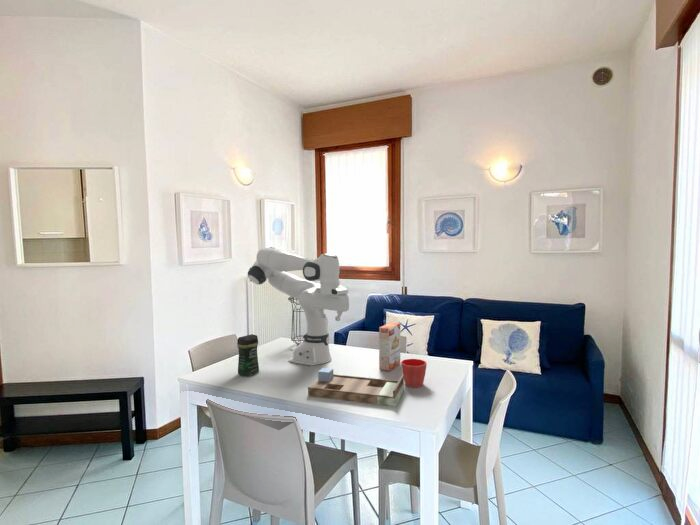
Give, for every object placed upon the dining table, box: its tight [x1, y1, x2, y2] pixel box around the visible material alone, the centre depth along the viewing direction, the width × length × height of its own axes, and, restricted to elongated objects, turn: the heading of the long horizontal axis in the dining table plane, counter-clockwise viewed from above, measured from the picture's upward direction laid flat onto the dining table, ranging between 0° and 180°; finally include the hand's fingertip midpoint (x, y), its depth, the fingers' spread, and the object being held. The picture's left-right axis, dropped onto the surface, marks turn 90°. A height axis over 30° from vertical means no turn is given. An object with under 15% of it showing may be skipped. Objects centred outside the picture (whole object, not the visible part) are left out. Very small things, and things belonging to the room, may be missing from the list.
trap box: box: [307, 373, 405, 407], centre depth 158 cm, size 36×17×6 cm, turn 71°
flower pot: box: [400, 358, 428, 388], centre depth 166 cm, size 11×11×10 cm
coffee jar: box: [236, 334, 260, 377], centre depth 184 cm, size 10×8×19 cm
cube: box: [317, 367, 334, 382], centre depth 166 cm, size 5×5×4 cm
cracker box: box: [378, 321, 401, 372], centre depth 190 cm, size 14×6×21 cm, turn 150°
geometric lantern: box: [287, 296, 304, 346], centre depth 232 cm, size 16×16×35 cm
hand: (330, 319), depth 175 cm, fingers open, 8 cm apart
